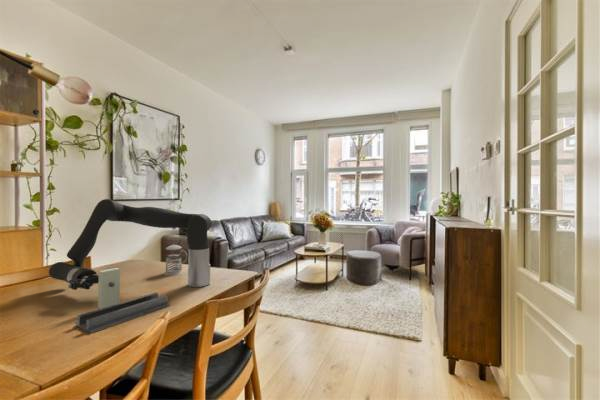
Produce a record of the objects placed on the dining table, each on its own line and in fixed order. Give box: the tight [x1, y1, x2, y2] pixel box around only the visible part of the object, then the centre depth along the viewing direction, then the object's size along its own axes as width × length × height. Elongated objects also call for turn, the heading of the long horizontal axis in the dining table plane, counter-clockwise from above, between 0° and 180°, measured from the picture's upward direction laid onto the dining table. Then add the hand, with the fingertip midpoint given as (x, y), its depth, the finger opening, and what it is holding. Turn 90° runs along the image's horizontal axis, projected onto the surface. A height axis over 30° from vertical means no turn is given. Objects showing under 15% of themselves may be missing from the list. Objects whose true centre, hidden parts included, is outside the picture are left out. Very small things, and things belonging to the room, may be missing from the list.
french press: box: [163, 228, 188, 276], centre depth 152 cm, size 10×12×25 cm
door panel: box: [97, 267, 121, 310], centre depth 103 cm, size 6×4×14 cm, turn 150°
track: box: [75, 292, 171, 334], centre depth 97 cm, size 26×10×4 cm, turn 150°
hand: (101, 283), depth 106 cm, fingers open, 8 cm apart
